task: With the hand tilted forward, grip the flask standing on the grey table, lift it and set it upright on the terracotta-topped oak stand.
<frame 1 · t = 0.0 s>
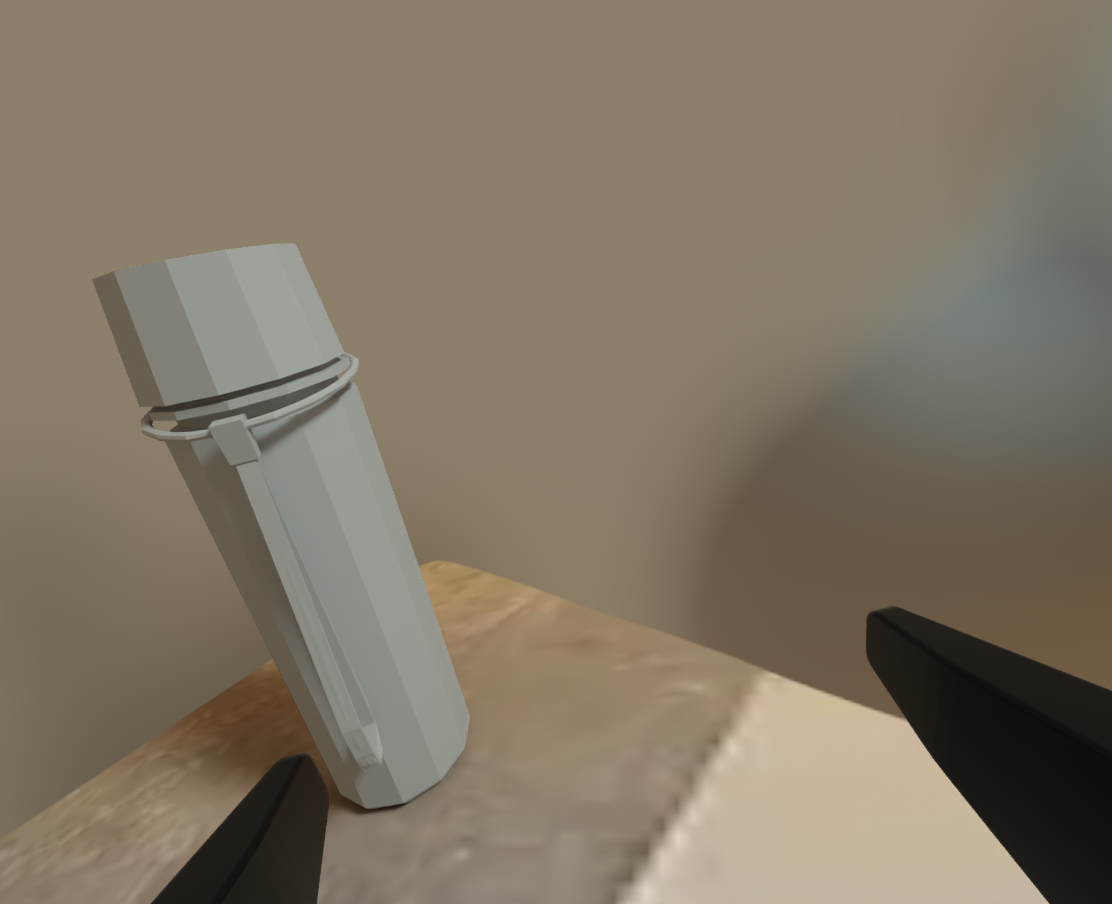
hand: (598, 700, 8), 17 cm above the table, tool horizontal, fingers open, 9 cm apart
water bottle: (409, 769, 28), on the table
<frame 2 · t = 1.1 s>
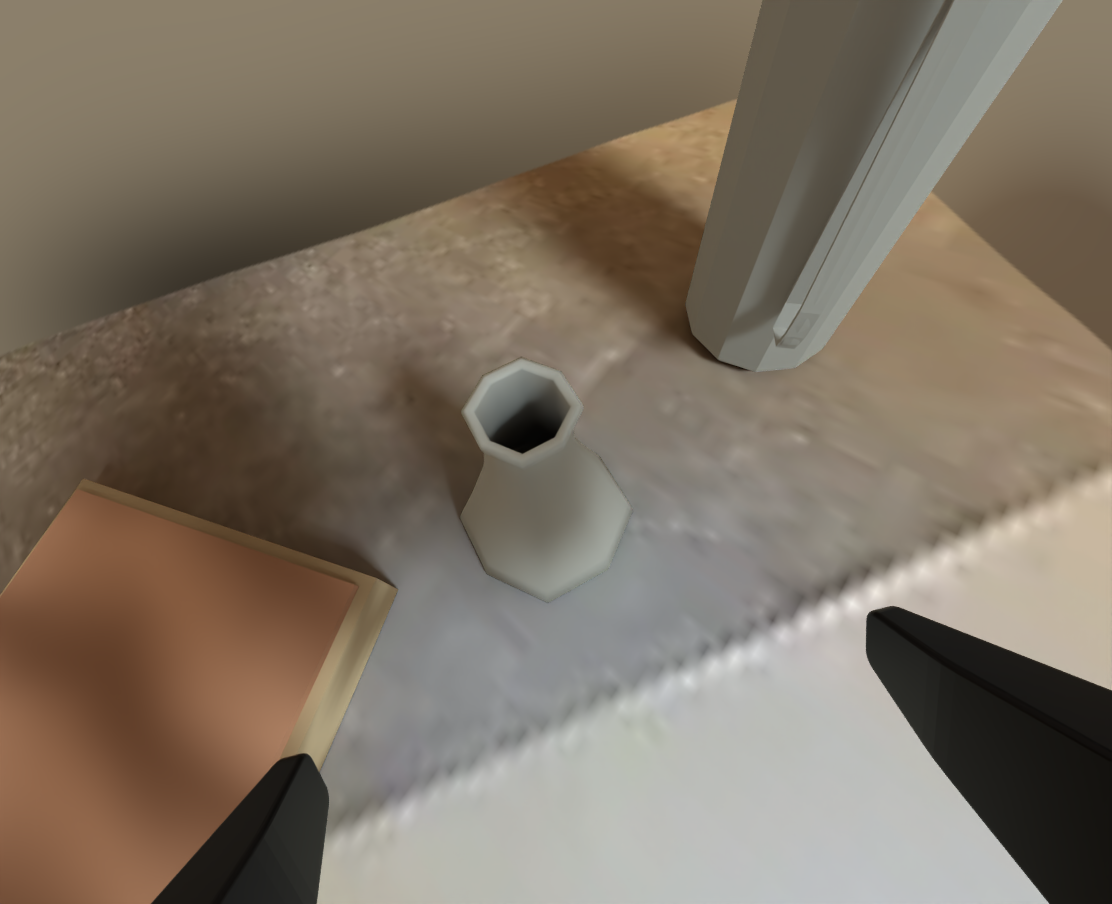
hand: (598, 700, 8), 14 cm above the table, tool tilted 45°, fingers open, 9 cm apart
flask: (546, 516, 24), on the table
water bottle: (751, 338, 27), on the table
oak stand: (167, 706, 21), on the table
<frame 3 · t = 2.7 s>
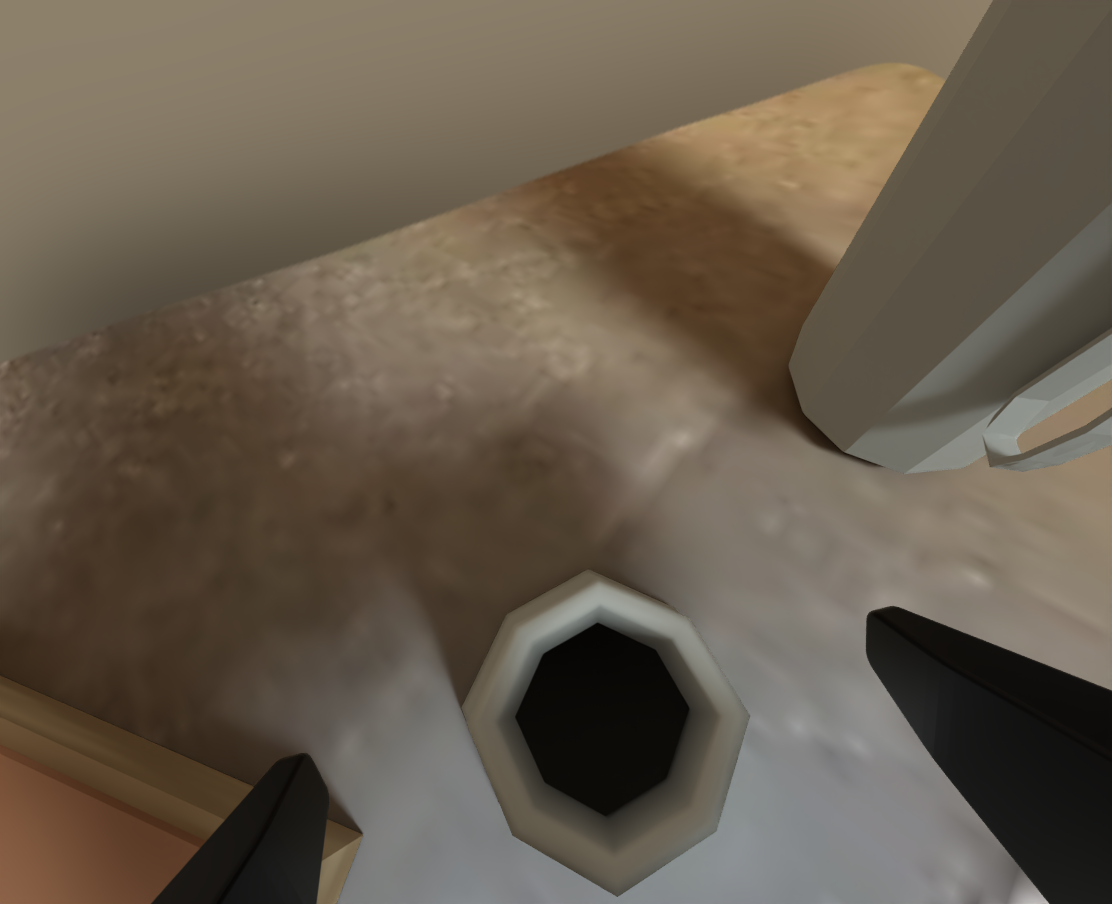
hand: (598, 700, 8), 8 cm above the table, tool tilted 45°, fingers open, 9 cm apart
flask: (595, 703, 16), on the table
water bottle: (883, 415, 19), on the table
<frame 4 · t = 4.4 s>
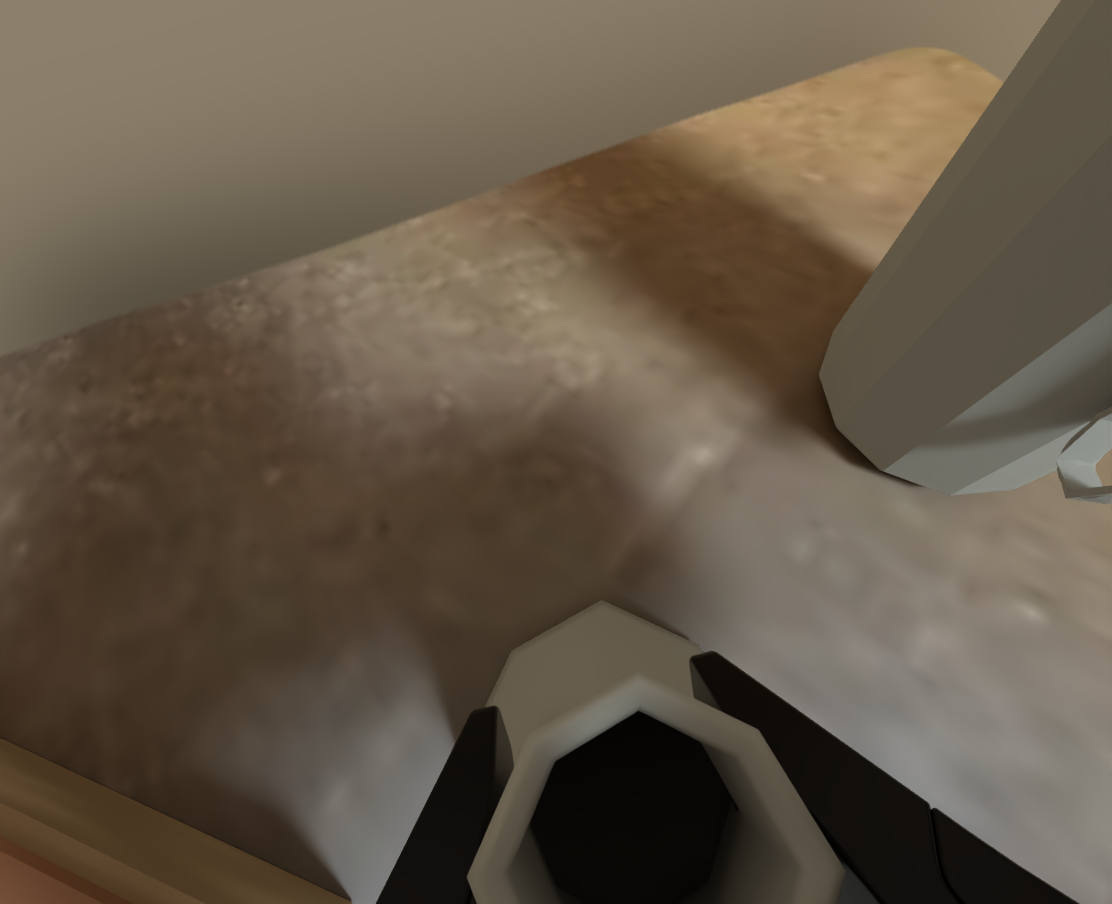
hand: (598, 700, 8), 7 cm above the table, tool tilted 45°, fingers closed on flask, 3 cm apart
flask: (609, 752, 14), on the table, touching gripper
water bottle: (922, 428, 17), on the table
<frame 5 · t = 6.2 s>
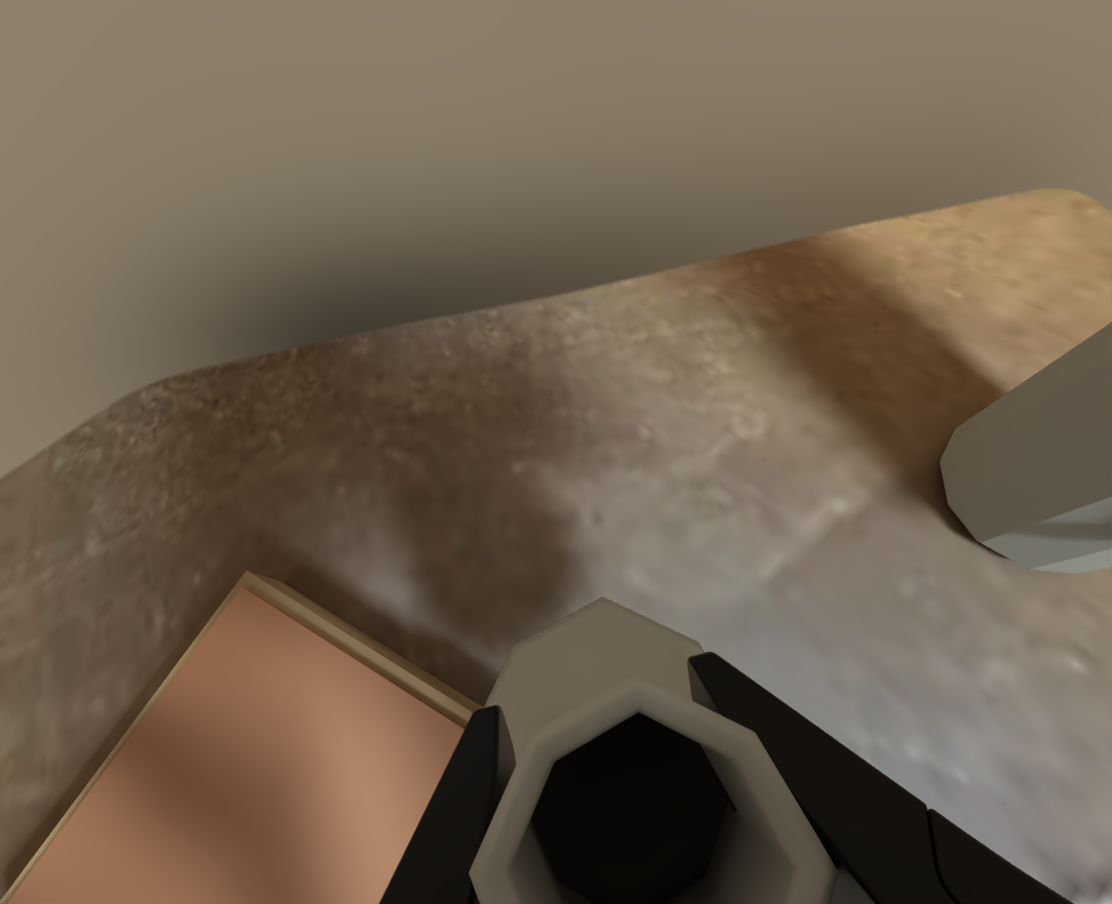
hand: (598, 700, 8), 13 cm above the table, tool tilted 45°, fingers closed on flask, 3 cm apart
flask: (609, 747, 14), point 6 cm above the table, touching gripper
water bottle: (1013, 514, 23), on the table
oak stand: (306, 853, 19), on the table
when the fingers open (11 cm above the table, at t = 8.3 s): flask stays where it is, resting on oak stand.
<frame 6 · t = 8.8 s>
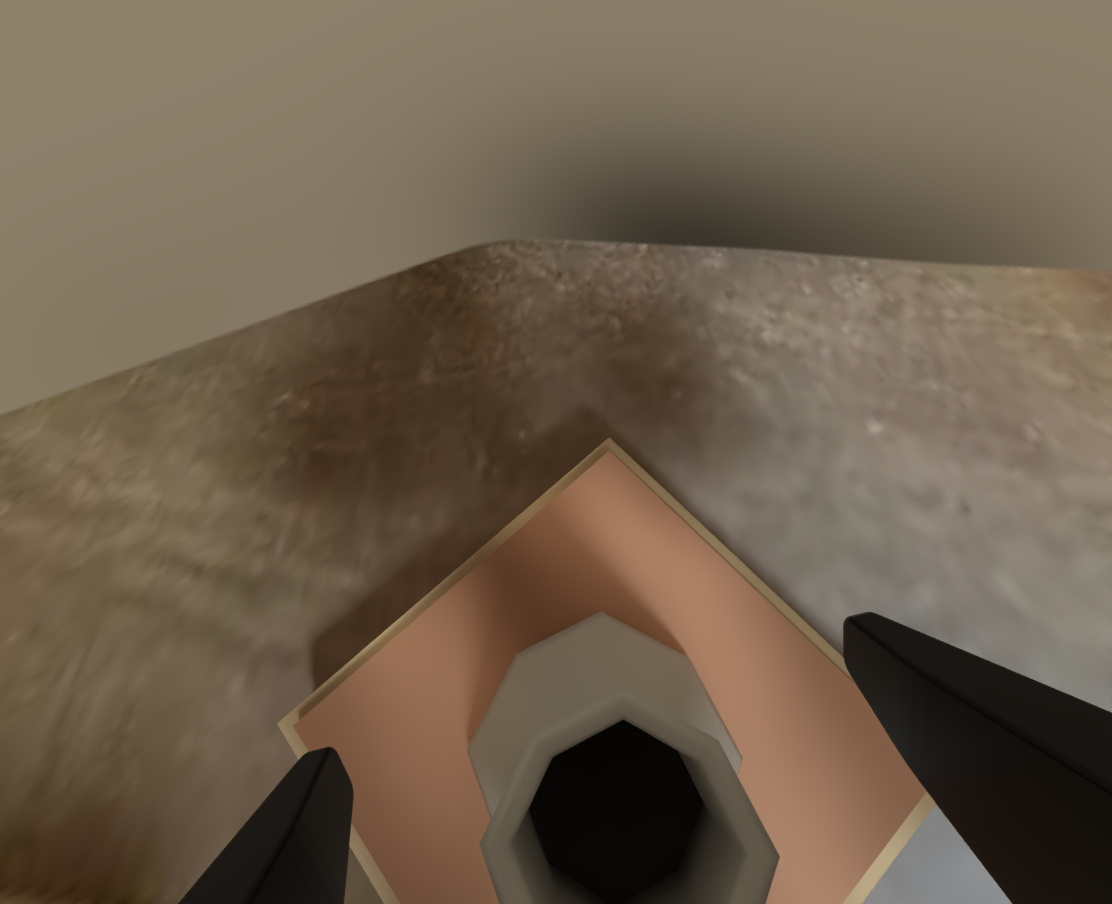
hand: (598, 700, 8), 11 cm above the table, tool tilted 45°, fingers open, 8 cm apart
flask: (602, 751, 15), point 3 cm above the table, touching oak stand
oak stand: (602, 737, 18), on the table
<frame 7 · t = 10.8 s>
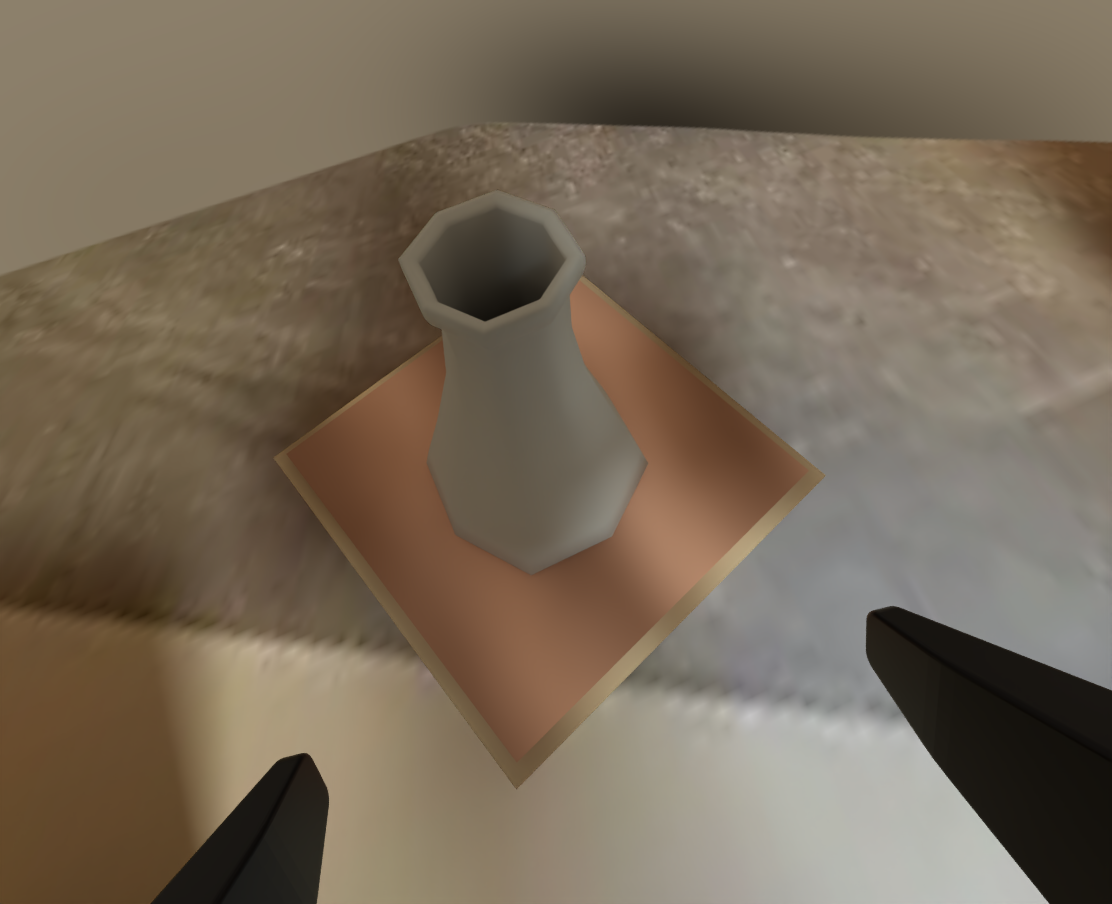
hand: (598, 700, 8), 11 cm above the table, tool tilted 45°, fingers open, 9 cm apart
flask: (537, 468, 19), point 3 cm above the table, touching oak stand
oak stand: (544, 490, 22), on the table
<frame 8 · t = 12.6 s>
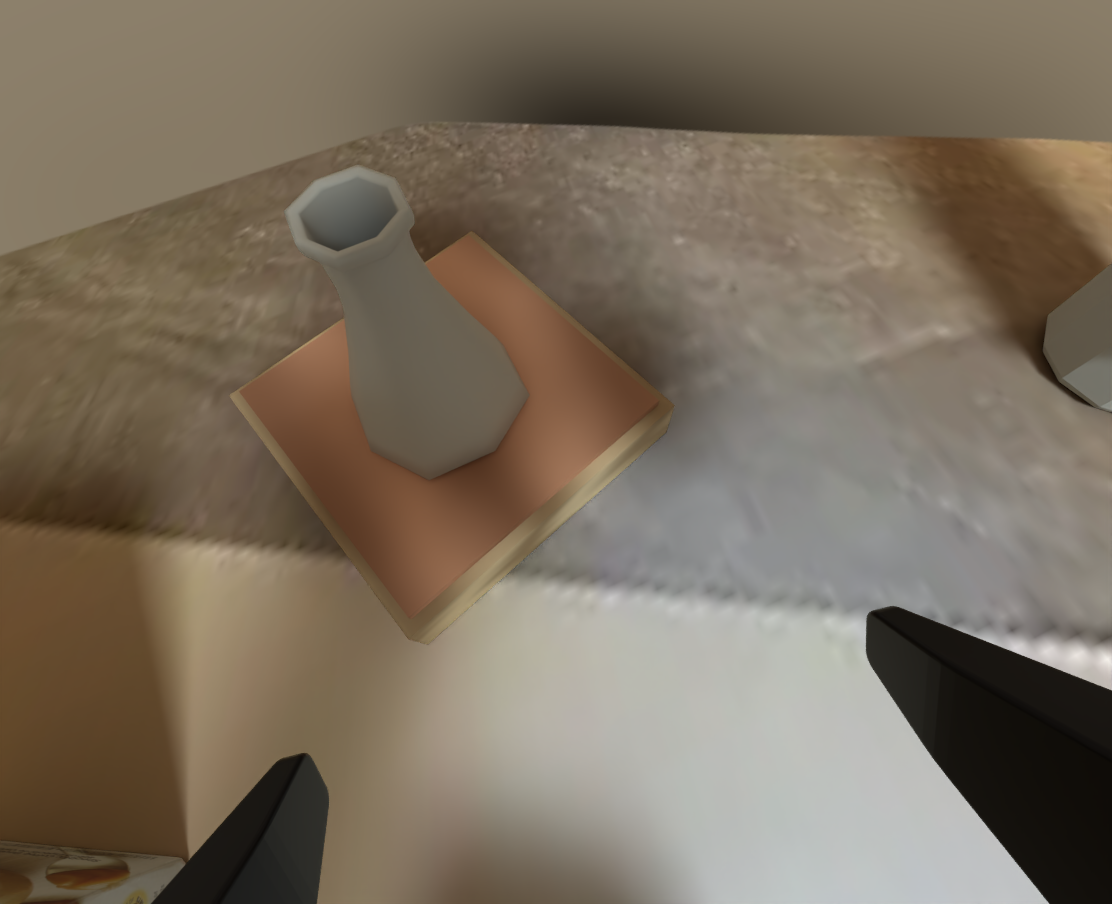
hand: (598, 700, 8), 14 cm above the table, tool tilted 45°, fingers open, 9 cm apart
flask: (442, 401, 23), point 3 cm above the table, touching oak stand
water bottle: (1102, 378, 25), on the table
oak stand: (458, 426, 26), on the table
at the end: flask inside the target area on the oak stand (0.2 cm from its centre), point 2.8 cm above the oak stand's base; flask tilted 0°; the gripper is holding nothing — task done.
